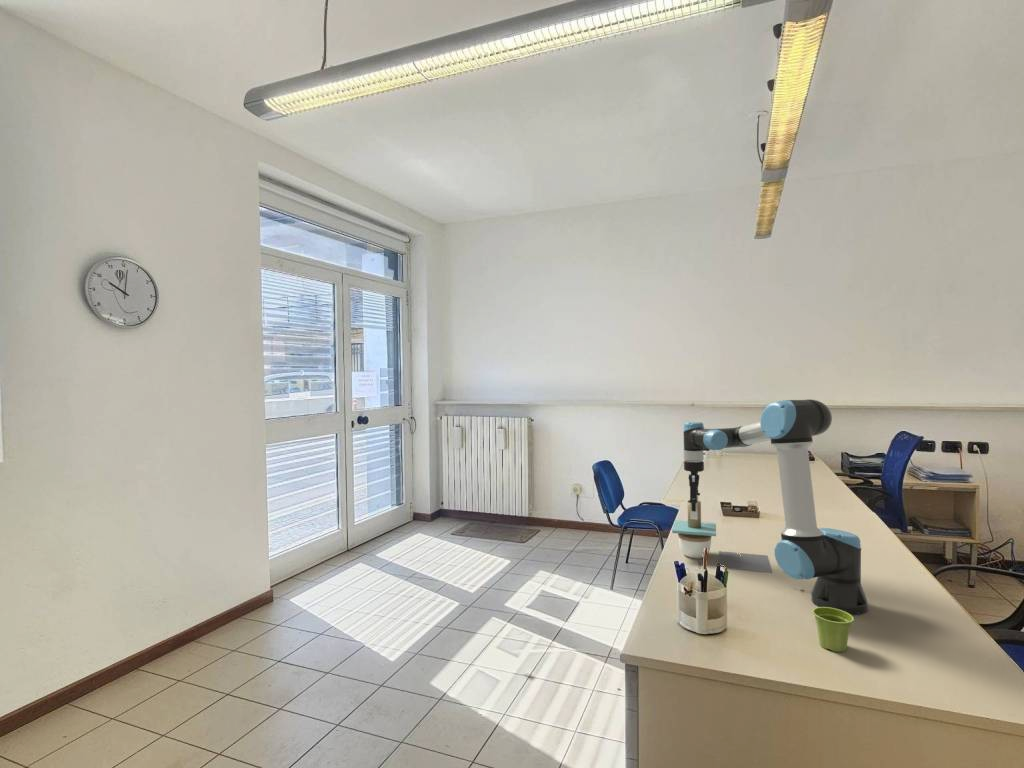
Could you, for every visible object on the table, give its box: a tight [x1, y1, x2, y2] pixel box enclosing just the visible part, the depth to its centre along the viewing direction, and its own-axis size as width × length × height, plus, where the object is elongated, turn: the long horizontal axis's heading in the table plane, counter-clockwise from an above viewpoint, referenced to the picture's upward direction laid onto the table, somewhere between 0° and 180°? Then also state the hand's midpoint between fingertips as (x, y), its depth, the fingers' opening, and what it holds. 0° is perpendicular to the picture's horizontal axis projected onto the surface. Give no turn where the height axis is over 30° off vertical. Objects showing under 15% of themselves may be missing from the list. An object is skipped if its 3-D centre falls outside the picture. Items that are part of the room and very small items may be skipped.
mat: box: [718, 550, 773, 574], centre depth 208 cm, size 20×18×1 cm
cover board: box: [671, 499, 717, 537], centre depth 216 cm, size 16×16×11 cm
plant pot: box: [812, 606, 855, 653], centre depth 144 cm, size 9×9×9 cm
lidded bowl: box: [677, 533, 712, 559], centre depth 216 cm, size 13×13×11 cm
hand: (694, 515), depth 216 cm, fingers open, 11 cm apart
